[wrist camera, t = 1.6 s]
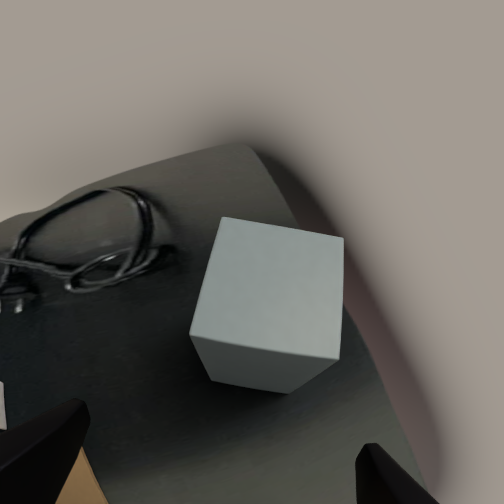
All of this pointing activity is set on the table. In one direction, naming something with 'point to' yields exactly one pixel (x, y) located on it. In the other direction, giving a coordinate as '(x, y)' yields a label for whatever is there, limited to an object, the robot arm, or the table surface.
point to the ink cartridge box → (2, 409)
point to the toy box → (269, 306)
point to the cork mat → (81, 485)
